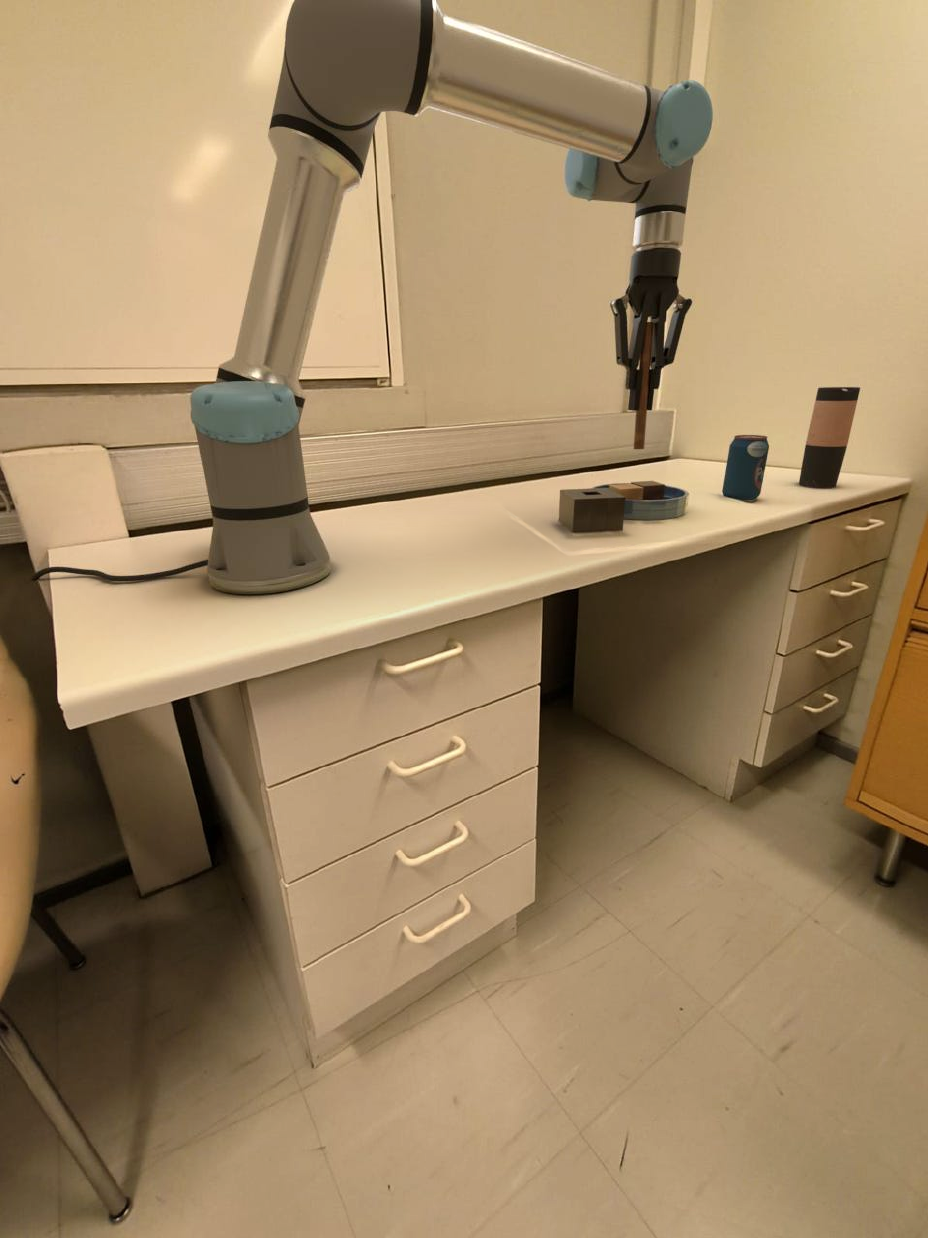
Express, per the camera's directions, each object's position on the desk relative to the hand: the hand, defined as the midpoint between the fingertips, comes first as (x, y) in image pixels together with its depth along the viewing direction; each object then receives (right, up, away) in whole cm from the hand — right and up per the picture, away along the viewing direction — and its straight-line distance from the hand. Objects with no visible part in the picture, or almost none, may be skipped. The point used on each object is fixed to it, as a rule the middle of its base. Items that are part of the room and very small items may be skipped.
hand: (639, 409), depth 98 cm
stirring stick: (0, -6, +1) cm, 7 cm away
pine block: (-2, -17, +4) cm, 17 cm away
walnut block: (+3, -16, +6) cm, 17 cm away
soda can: (+25, -13, +15) cm, 31 cm away
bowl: (+1, -17, +5) cm, 18 cm away
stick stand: (-10, -22, -5) cm, 24 cm away
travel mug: (+47, -7, +26) cm, 55 cm away
